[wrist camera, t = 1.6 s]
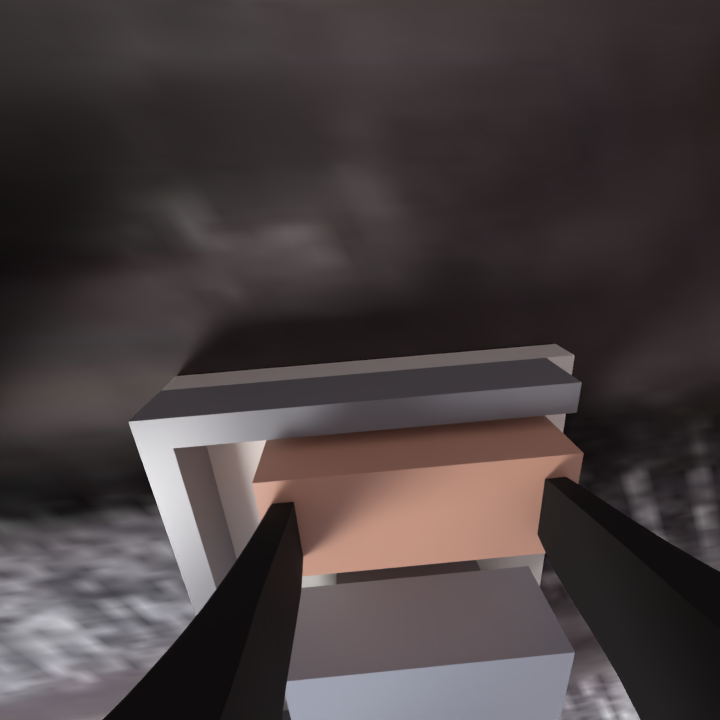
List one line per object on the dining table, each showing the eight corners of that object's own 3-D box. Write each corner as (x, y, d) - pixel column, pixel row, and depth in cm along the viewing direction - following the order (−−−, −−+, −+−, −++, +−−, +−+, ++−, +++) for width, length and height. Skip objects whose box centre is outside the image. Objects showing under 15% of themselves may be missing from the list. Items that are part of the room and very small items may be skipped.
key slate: (520, 628, 15) (559, 719, 13) (305, 649, 15) (297, 746, 12) (528, 566, 14) (574, 652, 11) (293, 588, 14) (282, 682, 11)
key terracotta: (521, 485, 14) (566, 551, 11) (286, 506, 14) (273, 579, 11) (530, 401, 13) (583, 453, 10) (271, 424, 13) (251, 483, 10)
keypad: (513, 671, 21) (544, 753, 18) (265, 696, 20) (251, 783, 17) (555, 343, 14) (620, 382, 10) (175, 375, 13) (124, 425, 10)
